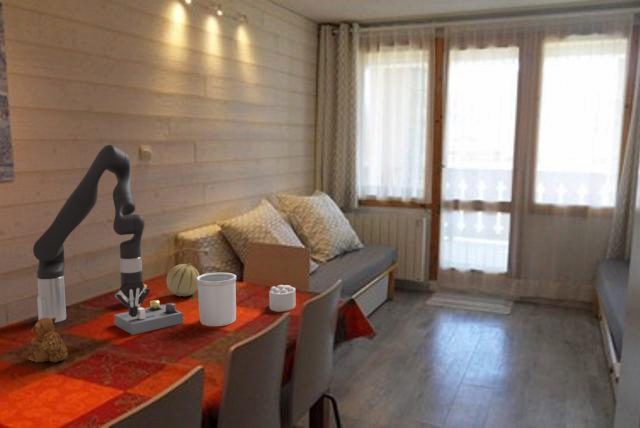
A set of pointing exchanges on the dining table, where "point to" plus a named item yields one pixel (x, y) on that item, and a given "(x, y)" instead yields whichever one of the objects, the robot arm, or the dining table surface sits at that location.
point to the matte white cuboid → (141, 313)
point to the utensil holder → (217, 298)
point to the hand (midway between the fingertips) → (133, 316)
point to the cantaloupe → (182, 280)
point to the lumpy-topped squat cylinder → (282, 298)
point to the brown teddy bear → (48, 342)
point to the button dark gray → (170, 307)
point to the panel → (148, 320)
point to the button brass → (154, 305)
